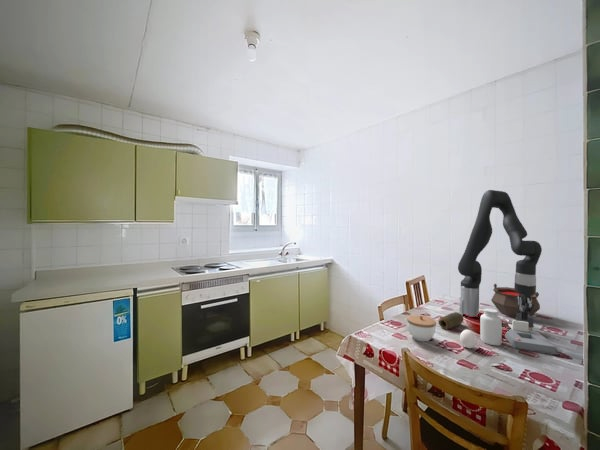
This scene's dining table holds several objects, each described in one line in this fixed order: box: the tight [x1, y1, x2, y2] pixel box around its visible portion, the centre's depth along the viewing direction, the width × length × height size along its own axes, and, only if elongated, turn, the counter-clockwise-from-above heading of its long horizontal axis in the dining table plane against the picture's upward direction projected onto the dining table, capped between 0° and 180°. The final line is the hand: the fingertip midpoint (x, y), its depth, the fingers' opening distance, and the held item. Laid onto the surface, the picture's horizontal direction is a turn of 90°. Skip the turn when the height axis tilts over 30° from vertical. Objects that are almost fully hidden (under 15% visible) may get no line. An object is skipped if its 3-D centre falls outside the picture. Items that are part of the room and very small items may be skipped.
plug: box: [515, 313, 534, 331], centre depth 130 cm, size 5×5×8 cm
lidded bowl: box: [406, 314, 437, 343], centre depth 122 cm, size 13×13×11 cm
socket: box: [502, 326, 557, 355], centre depth 117 cm, size 14×16×4 cm
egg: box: [459, 329, 478, 349], centre depth 113 cm, size 6×6×8 cm
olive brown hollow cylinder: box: [438, 311, 464, 330], centre depth 135 cm, size 15×7×7 cm, turn 125°
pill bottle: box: [479, 308, 503, 346], centre depth 118 cm, size 8×8×15 cm
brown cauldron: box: [490, 283, 541, 318], centre depth 153 cm, size 24×24×16 cm
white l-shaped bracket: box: [507, 319, 529, 332], centre depth 125 cm, size 6×6×4 cm
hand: (523, 319), depth 119 cm, fingers closed
